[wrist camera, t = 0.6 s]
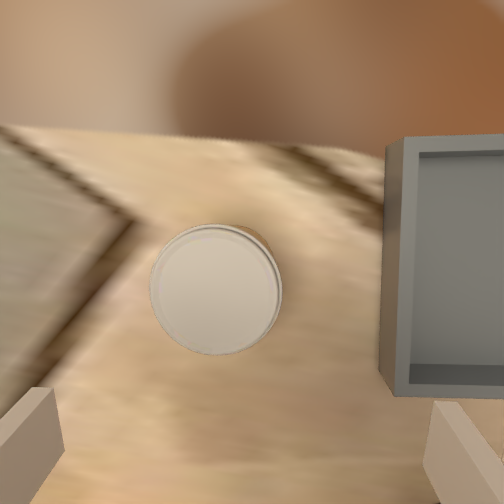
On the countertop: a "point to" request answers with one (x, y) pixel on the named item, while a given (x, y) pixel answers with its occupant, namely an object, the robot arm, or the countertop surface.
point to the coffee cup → (216, 289)
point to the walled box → (443, 267)
